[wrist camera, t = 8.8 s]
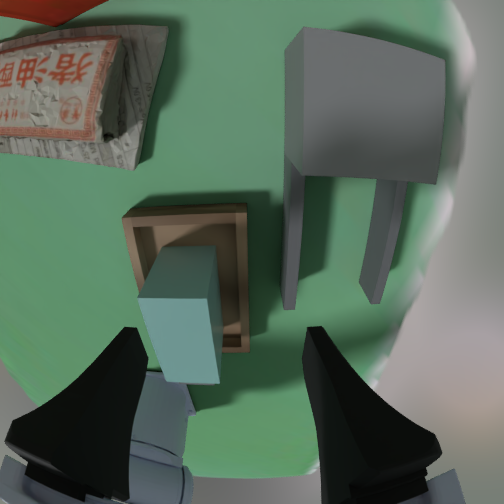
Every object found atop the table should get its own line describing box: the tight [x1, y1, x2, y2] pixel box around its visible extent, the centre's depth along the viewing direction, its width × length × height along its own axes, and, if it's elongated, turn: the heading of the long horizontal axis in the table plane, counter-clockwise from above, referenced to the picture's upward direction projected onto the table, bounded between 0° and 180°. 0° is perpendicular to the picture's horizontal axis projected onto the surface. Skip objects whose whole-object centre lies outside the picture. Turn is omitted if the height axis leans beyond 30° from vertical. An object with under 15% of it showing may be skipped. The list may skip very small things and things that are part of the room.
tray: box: [122, 203, 250, 353], centre depth 22 cm, size 13×8×2 cm, turn 1°
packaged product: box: [0, 25, 169, 170], centre depth 13 cm, size 18×5×10 cm
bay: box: [280, 27, 445, 310], centre depth 16 cm, size 17×8×6 cm, turn 1°
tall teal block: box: [137, 245, 224, 385], centre depth 20 cm, size 9×4×6 cm, turn 1°
